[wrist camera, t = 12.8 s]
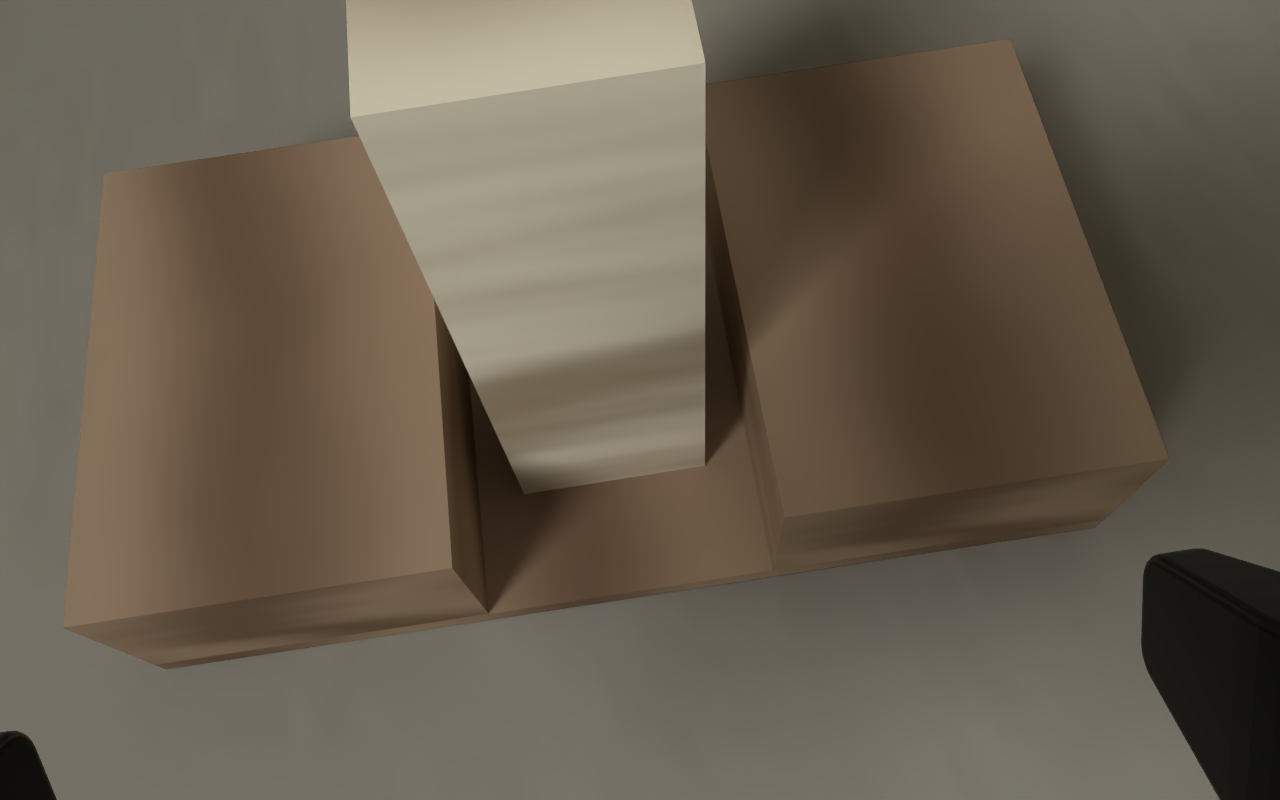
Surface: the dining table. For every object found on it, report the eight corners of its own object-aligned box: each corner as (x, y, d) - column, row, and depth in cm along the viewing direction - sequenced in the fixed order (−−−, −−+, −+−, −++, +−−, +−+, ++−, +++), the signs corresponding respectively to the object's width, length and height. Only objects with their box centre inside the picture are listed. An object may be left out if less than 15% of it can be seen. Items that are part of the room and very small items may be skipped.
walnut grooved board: (968, 153, 27) (1010, 39, 23) (1094, 527, 23) (1169, 459, 19) (185, 270, 27) (103, 173, 23) (166, 669, 22) (62, 627, 19)
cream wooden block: (705, 465, 23) (705, 63, 12) (524, 494, 23) (350, 117, 12) (669, 272, 25) (640, -227, 14) (503, 298, 25) (339, -183, 14)
